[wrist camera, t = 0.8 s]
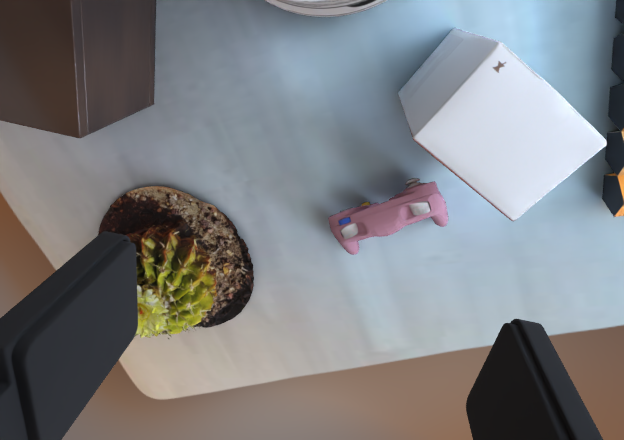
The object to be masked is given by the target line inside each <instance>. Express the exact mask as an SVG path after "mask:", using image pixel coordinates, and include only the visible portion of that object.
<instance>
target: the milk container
mask: <svg viewBox="0 0 624 440" xmlns="http://www.w3.org/2000/svg"><path fill="white" fill-rule="evenodd" d="M265 1H266V2H268V3H270V4H272V5H274V6H276V7H279V8H281V9H283V10H287V11H290V12H293V13H297V14H301V15H306V16H314V17H337V16H344V15H350V14H354V13H358V12H362V11H364V10H367V9H370V8H373V7H375V6H377V5H379V4H381V3H383V2H385V1H387V0H265Z"/></svg>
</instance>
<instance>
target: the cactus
mask: <svg viewBox="0 0 624 440" xmlns="http://www.w3.org/2000/svg"><path fill="white" fill-rule="evenodd" d="M105 231H107V232H112V233H116V234H121V235H126V236H128V237H129V239H130V242H131V243H134V244H135V246H136V264H137V303H138V328H137V332H136V334H135V336H136V335H138V334H140V336H141V338H142V337H144V336H145V337H149V338H150V337H151V336H153V335H152V334H154V335H155V336H156V337H157V336H158V334H160V335H161V334H168V335H169V336H171V335H170V334H177V333H180V332H181V331H182V330H184V331H185V332H186V330H188V329H187V328H188V327H191V328H193V329H194V330H196V329H195V328H194V327H196V326H198V327H200V326H202V327H212V326H215V325H219V324H222V323H224V322H226V321H228V320H231V319H232V318H234V317H235V316H236V315H238V314H239V313H240V312H241V311H242V310H243V308H244V307H245V305H246V304H247V303H248V301H249V299H250V297H251V294H252V290H253V285H254V284H253V280H254V277H253V272H254V271H253V264H252V263H251V257H250V254H249V253H248V248H247V247H246V244H245V242H244V240H243V239H240V236H238V234H237V229H236V228H235V226H234V225H233V223H232V222H231V221H230V220H229V219H228V218H227V216H226V215H225V214H223V213H222V212H220V211H219V210H218V209H217V208H216V207H215V206H214V205H210V204H208V203H205V202H203V201H200V200H198V199H196V198H195V197H193V196H191V195H190V194H188V193H184V192H182V191H178V190H175V189H173V188H169V187H163V186H162V187H160V186H152V187H144V188H138V189H135V190H132V191H130V192H127V193H126V194H124V195H123V196H121V197H120V198H119V199H117V200H116V201H115V202H114V203H113V204H112V205H111V206H110V209H109V210H108V212H107V213H106V215H105V216H104V218H103V220H102V222H101V225H100V229H99V234H101V233H102V232H105ZM99 234H98V235H99ZM135 336H134V337H135ZM168 339H169V338H168Z"/></svg>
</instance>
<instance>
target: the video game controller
mask: <svg viewBox="0 0 624 440" xmlns="http://www.w3.org/2000/svg"><path fill="white" fill-rule="evenodd" d="M419 180H420V179H416V178H413V179H410V180H408V181H407V182H406V183H405V185H408V184H410V185H409V186H408V187H407V188H406V189H405V190H404V191H403V192H401V193H399V194H396V195H395V196H394V197H392V198H390V199H389V201H387V202H384V203H381V204H379V203H374V204H370V203H369V202H365V203H363V204H362V206H359V207H356V208H353V207H351V208H348V209H345V210H342V211H340V212H339V213H338V214H335V215H333V216H330V217H329V218H328V220H329V224H330V228H331V231H332V233H333V234H334V236H335V238H336V239H337V240H338V242H339V243H340V244H341V245H342V246H343V248H344V249H345V250H346V251H347V252H348V253H350V254H352V255H354V254H357V253H358V251H359V243H358V241H359V240H363V239H366V238H369V237H374V236H377V237H381V236H388V235H391V234H393V233H395V232H397V231H399V230H400V229H402V228H403V227H404V226H406V225H409V224H412V223H415V222H418V221H421V220H423V219H426V218H428V217H431V218H432V219H433V221H434V222H435V224H437V225H439V226H441V227H444V226H446V224H447V222H448V213H447V208H446V202H445V200H444V199H443V197H442V195H441V194H440V192H439V191H438V188H437V185H436V183H435V182H430V183H417V181H419Z"/></svg>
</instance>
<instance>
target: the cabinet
mask: <svg viewBox="0 0 624 440" xmlns="http://www.w3.org/2000/svg"><path fill="white" fill-rule="evenodd" d="M155 19H156V0H0V120H2V121H6V122H10V123H15V124H19V125H23V126H28V127H32V128H37V129H41V130H45V131H50V132H54V133H59V134H63V135H67V136H72V137H76V138H82V137H84V136H86V135H88V134H90V133H93V132H95V131H97V130H99V129H101V128H103V127H106V126H108V125H110V124H112V123H114V122H117V121H119V120H121V119H123V118H125V117H127V116H130V115H132V114H134V113H136V112H138V111H140V110H143V109H145V108H147V107H149V106H151V105H154V71H155Z"/></svg>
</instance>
